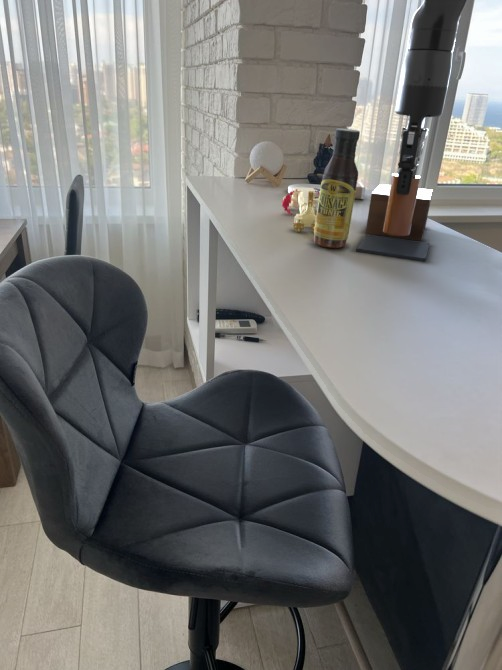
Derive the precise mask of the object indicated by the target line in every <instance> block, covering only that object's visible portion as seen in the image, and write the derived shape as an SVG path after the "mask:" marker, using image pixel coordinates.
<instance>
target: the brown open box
mask: <svg viewBox="0 0 502 670" xmlns="http://www.w3.org/2000/svg"><path fill="white" fill-rule="evenodd" d="M390 186H391V184H381V183H380V184H379V185H377V186H376V188H374V190H373V191H372V192H371V194H370V200H369V207H368V213H367V220H366V227H365V234H368V235H375V236H382V237H389V238H396V239H404V240H411V241H418V242H423V237H424V232H425V229H426V225H427V221H428V217H429V211H430V206H431V202H432V197H433V191H434V190H433V189H427V188H419V189H418V194H417V200H416V205H415V210H414V215H413V220H412V225H411V230H410V234H409V235H407V236H395V235H390V234H387V233H384V232H383V227H384V221H385V215H386V209H387V203H388V197H389V192H390Z"/></svg>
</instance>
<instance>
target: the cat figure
mask: <svg viewBox="0 0 502 670" xmlns="http://www.w3.org/2000/svg"><path fill="white" fill-rule="evenodd" d="M316 192H317V190H314V188H306V187H294V188H293V191H292V192H290V193H288V194H286V195H284V196H283V199H282V202H281V207H283V209H284V211H285V212H287V214H289V215H290V216H293V213H292V212H291V209H290V208H291V207H292V208H295V209H298V210H299V213H296V214H295V215H294V222H293V225H292V229H293V230H295V232H296V233H301V231H302V230H305V228H310V230H311V231H314V229H315V222H316V215H317V214H315V212H316V211H315V209H317V208H318V206H317V205H315V204H318V202H319V197H315V194H316ZM318 194H319V195H320V193H319V192H318Z"/></svg>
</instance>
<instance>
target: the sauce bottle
mask: <svg viewBox="0 0 502 670" xmlns="http://www.w3.org/2000/svg"><path fill="white" fill-rule="evenodd" d="M360 135H361V131H360V130H356V129H351V128H336V129H335V132H334V139H335V140H334V146H333V151H332V156H331V158H330V159H329V162H328V163H327V165H326V166H325V168H324V170H323V175H322V179H321V182H320V185H321V189H320V195H319V197H318V198H319V202H318V203H317V208H316V214H315V215H316V222H315V229H314V230H313V234H314V235H313V243H314V244H316V245H317V246H320V247H323V248H329V249H340V248H344V247H345V246H346V244H347V240H348V238H349V232H350V227H351V222H352V215H353V210H354V205H355V194H356V185H357V182H358V180H359V170H358V167H357V164H356V160H355V159H356V150H357V146H358V141H359V139H360Z"/></svg>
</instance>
